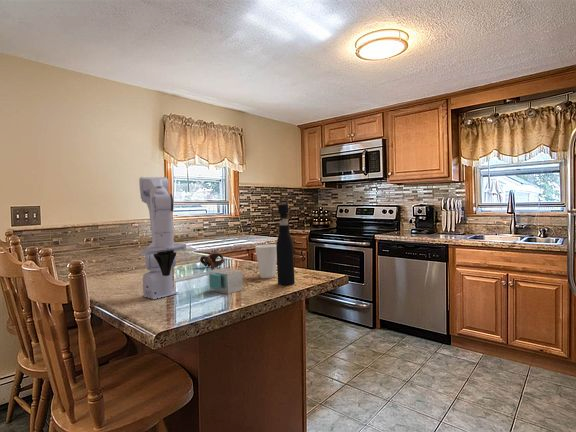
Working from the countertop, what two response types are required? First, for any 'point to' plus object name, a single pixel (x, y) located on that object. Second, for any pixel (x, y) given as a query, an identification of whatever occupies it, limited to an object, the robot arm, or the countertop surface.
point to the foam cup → (266, 260)
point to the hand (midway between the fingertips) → (166, 275)
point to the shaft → (215, 281)
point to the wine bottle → (284, 250)
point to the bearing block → (229, 280)
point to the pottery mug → (212, 260)
